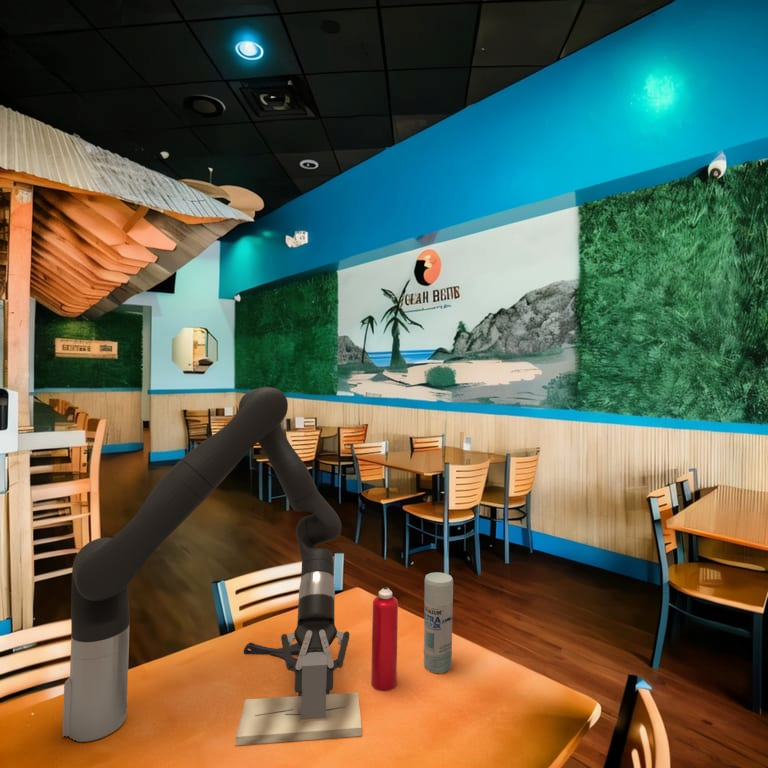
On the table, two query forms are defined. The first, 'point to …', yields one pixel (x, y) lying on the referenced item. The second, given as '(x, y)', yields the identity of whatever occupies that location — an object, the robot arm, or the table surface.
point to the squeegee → (272, 650)
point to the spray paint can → (438, 622)
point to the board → (297, 720)
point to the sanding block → (314, 686)
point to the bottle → (384, 641)
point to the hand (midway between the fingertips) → (314, 693)
